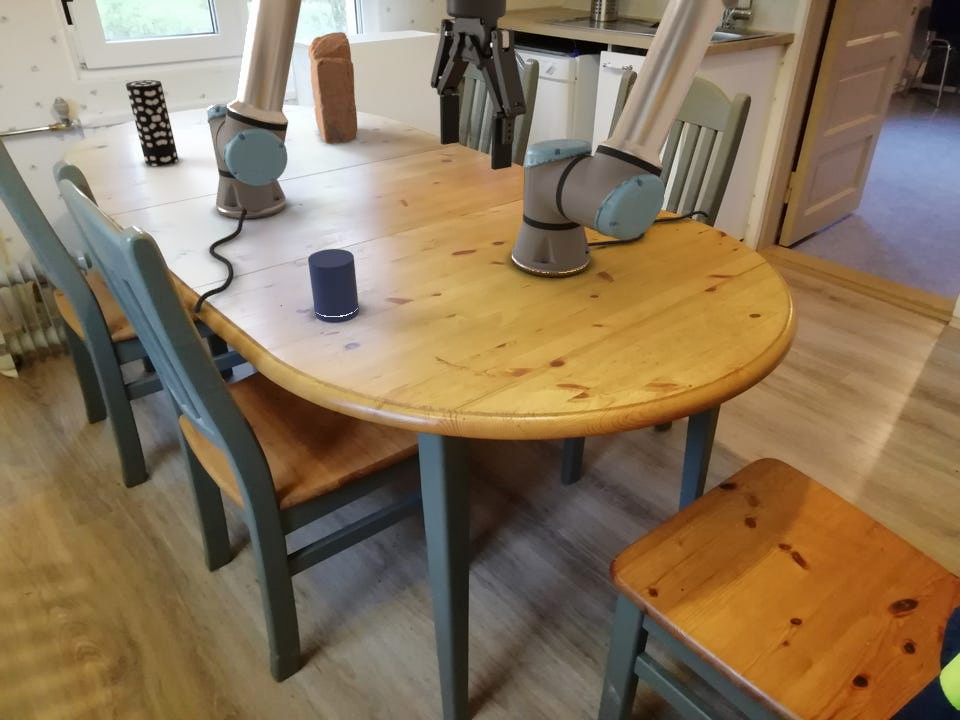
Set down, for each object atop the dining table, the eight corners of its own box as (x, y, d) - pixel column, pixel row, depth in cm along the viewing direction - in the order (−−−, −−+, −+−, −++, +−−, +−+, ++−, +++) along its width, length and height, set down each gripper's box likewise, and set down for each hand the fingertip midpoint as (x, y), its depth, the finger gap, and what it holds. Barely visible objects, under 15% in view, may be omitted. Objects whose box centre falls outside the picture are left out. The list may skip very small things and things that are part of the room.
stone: (363, 142, 203) (354, 38, 189) (325, 145, 200) (313, 39, 186) (351, 127, 221) (342, 31, 207) (316, 130, 218) (304, 32, 204)
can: (365, 315, 116) (361, 261, 111) (324, 326, 113) (317, 271, 107) (348, 298, 121) (343, 245, 116) (309, 308, 118) (301, 254, 112)
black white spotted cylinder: (184, 157, 190) (167, 80, 179) (169, 166, 183) (151, 87, 172) (155, 156, 190) (136, 79, 179) (139, 165, 183) (119, 86, 172)
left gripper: (-134, -137, 94) (-69, 33, 106) (70, -129, 105) (109, 24, 116) (-126, -134, 100) (-65, 27, 111) (67, -127, 110) (104, 19, 122)
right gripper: (402, -26, 91) (409, 137, 103) (507, -11, 73) (501, 184, 85) (451, -27, 95) (452, 131, 106) (563, -13, 77) (550, 175, 88)
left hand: (24, 26), depth 114 cm, fingers open, 13 cm apart
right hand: (474, 155), depth 95 cm, fingers open, 13 cm apart
